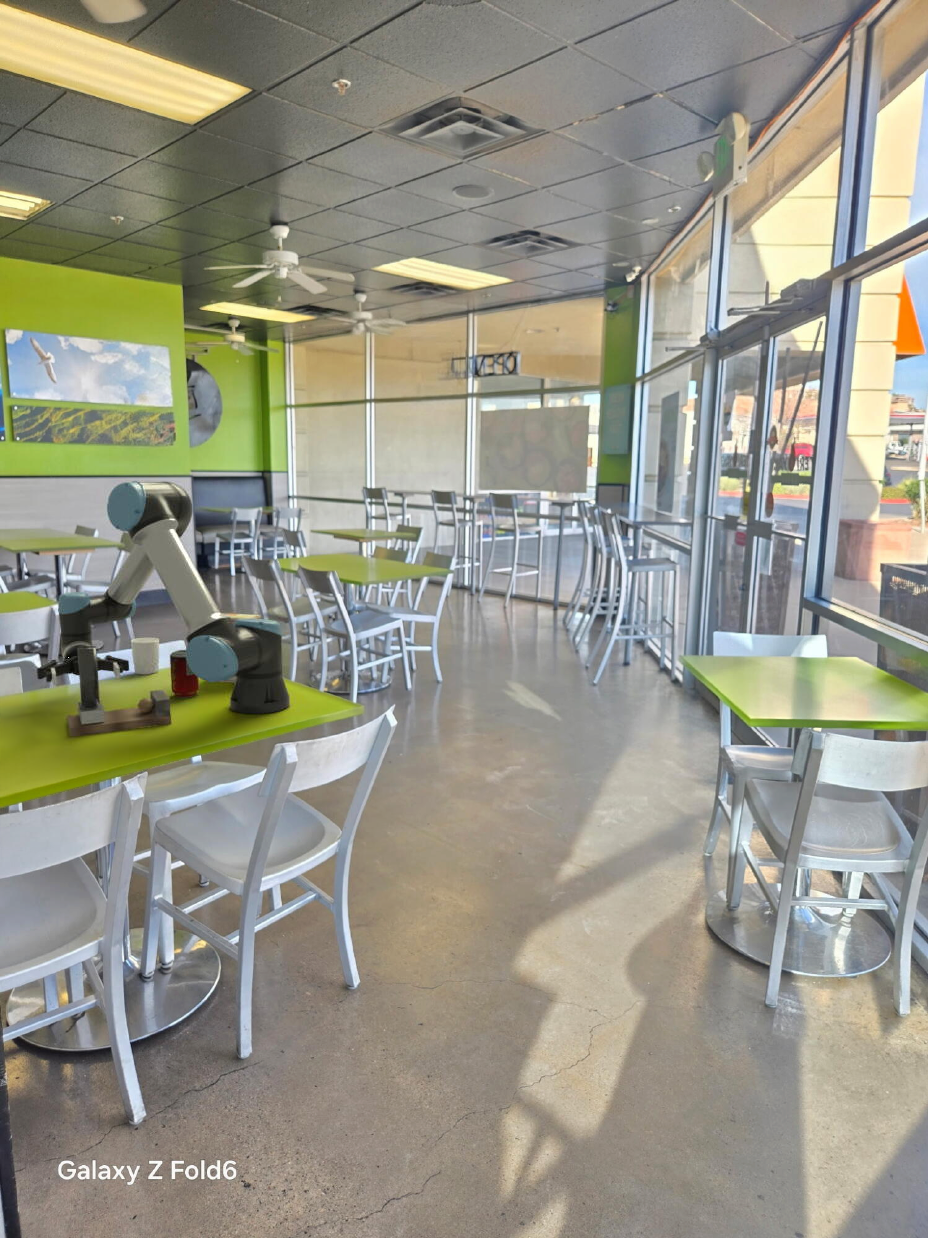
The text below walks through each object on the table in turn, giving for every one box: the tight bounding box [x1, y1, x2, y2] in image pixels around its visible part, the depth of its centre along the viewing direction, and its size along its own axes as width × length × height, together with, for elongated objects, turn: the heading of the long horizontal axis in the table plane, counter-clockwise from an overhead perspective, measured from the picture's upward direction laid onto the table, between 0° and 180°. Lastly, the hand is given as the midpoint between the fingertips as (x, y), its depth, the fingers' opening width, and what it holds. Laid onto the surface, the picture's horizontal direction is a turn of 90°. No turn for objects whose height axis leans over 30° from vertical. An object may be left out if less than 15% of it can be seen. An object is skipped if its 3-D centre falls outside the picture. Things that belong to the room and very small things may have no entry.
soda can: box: [169, 649, 200, 699], centre depth 218 cm, size 7×7×12 cm
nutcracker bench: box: [66, 689, 172, 738], centre depth 192 cm, size 22×11×6 cm, turn 120°
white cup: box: [130, 637, 160, 675], centre depth 243 cm, size 8×8×10 cm
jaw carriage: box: [77, 645, 105, 724], centre depth 188 cm, size 5×9×17 cm, turn 30°
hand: (86, 676), depth 188 cm, fingers open, 13 cm apart
